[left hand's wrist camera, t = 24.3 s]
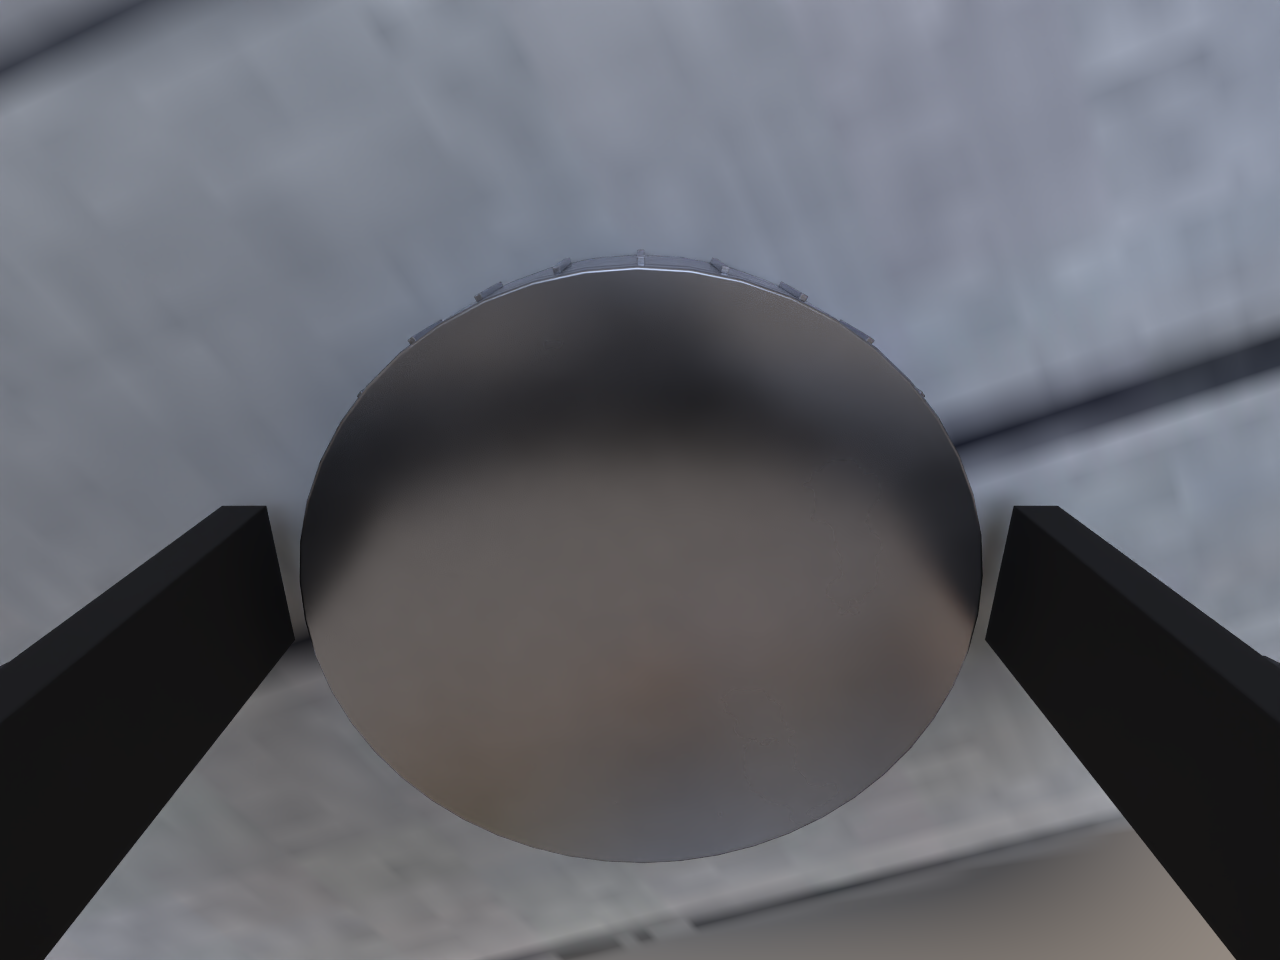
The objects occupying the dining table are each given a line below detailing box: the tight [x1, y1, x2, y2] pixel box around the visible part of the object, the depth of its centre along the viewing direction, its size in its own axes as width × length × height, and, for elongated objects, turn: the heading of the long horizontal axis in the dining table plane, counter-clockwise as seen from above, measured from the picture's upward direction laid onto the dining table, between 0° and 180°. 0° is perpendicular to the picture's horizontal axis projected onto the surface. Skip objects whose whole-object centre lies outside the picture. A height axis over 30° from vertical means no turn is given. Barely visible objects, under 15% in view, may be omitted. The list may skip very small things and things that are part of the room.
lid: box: [300, 250, 983, 863], centre depth 12 cm, size 11×11×2 cm
